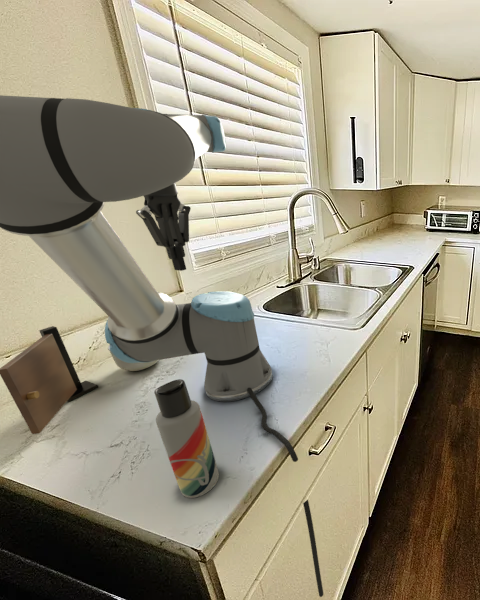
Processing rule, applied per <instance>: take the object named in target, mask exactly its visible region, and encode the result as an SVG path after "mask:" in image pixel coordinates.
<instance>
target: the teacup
mask: <svg viewBox="0 0 480 600" xmlns="http://www.w3.org/2000/svg"><path fill="white" fill-rule="evenodd" d="M109 348H110V344H108V346H107V350H108V351H109V353H110V355H111V357H112V359H113V361H114V363H115V364H116V366H117V368H119V369H121V370H125V371H130V372H137V371H142V370H145V369H148V368H150V367H152V366H153V365H155V364H157V362H158V361H159V360H156V361H151V362H147V363H146V362H145V363H127V362H124V361H121V360H120V359H118V358H117V357H116V356H115V355H114V354H113V353H112V352H111V350H110V349H109Z"/></svg>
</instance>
